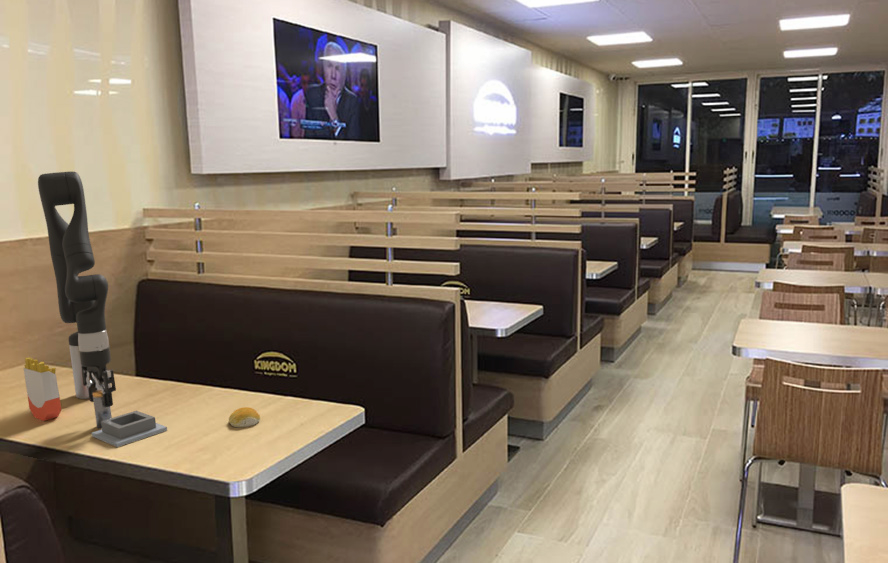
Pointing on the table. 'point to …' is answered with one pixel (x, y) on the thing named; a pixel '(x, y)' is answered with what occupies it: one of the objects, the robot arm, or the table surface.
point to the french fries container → (42, 390)
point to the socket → (128, 428)
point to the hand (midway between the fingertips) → (101, 403)
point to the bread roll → (244, 417)
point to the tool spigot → (100, 408)
